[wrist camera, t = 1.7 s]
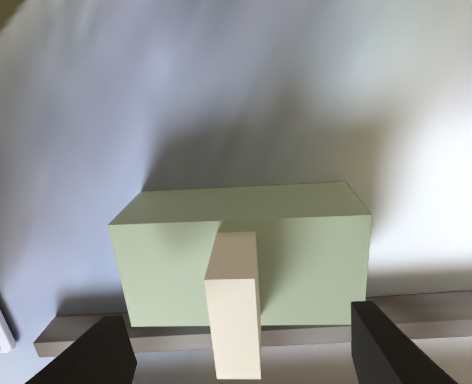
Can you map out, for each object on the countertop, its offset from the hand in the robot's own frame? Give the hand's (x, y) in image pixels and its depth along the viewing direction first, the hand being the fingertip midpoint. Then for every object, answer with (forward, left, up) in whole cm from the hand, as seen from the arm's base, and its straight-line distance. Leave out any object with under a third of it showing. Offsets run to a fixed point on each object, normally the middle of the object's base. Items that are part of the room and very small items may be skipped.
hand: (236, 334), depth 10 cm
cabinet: (0, 0, -7) cm, 7 cm away
